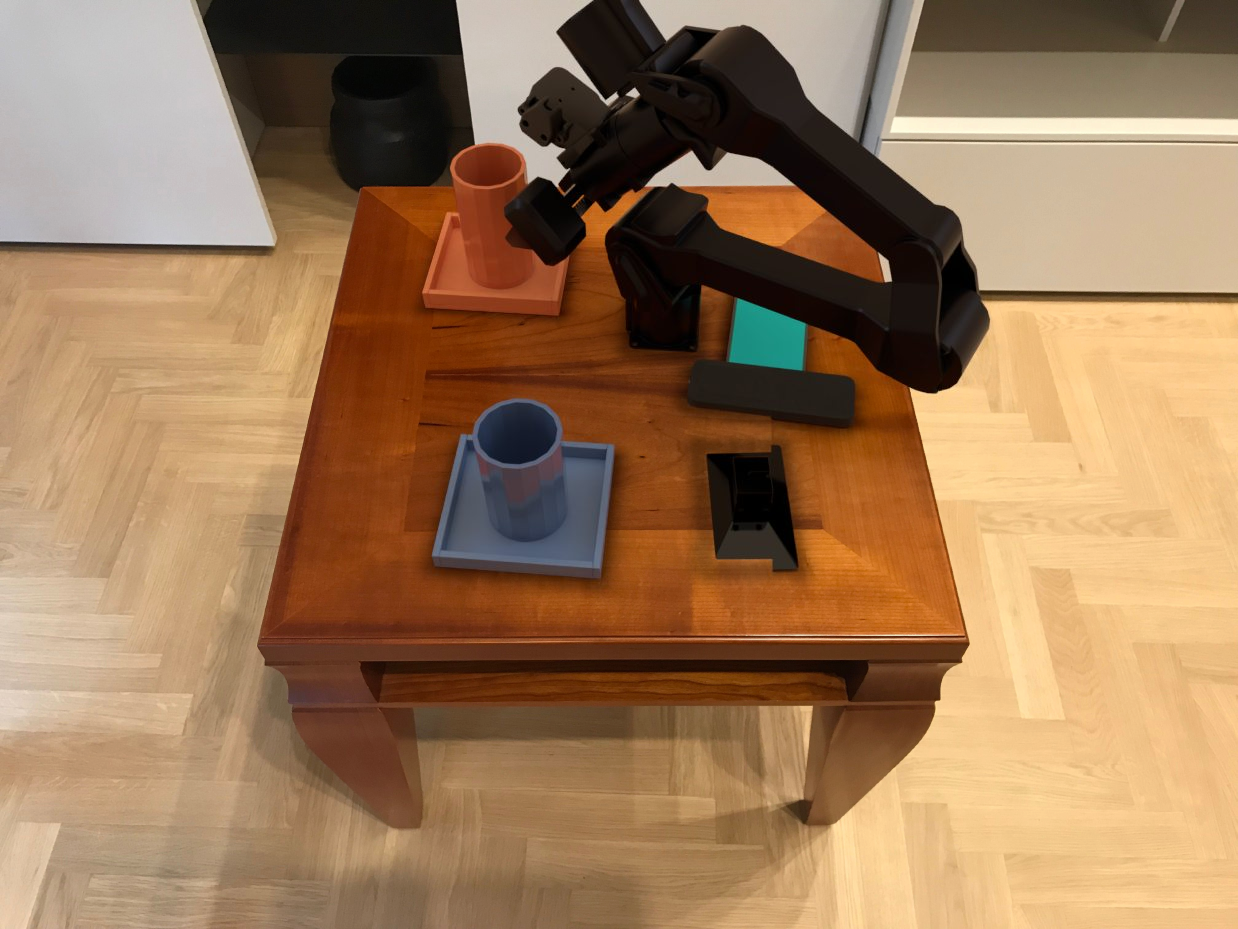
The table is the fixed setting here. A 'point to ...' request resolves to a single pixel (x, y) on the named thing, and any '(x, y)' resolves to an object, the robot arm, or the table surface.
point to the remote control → (773, 392)
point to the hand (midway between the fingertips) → (536, 214)
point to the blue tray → (562, 553)
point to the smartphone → (766, 338)
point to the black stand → (751, 508)
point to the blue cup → (522, 468)
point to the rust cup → (490, 213)
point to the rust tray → (461, 292)
